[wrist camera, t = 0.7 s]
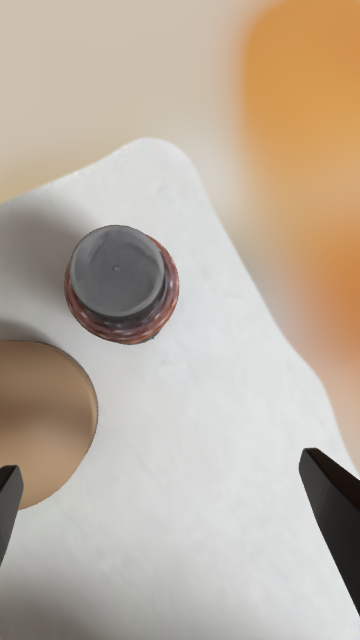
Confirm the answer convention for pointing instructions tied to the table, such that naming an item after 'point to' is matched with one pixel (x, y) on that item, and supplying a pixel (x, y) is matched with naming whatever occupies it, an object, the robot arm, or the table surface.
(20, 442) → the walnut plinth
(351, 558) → the robot arm
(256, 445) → the table surface
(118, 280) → the supplement bottle
